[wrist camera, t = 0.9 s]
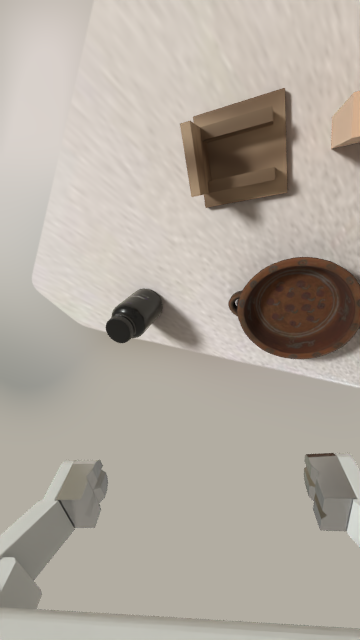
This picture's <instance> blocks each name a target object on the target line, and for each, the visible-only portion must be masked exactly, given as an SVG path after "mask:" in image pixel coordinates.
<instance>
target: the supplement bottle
mask: <svg viewBox="0 0 360 640" xmlns="http://www.w3.org/2000/svg"><path fill="white" fill-rule="evenodd" d="M161 311H162V302H161V300H160V298H159V296H158V295H157V294H156V293H155V292H153V291H152V290H149V289H140V290H137V291H136V292H135V293H133V294H132V295H131V296H129V297H128V298H127V299H125V300H124V301H123V302H122V303H120V304H119V305H118V306H117V307H115V309H114V310H113V312H112V318H111V319H110V320H109V321H108V322H107V325H106V331H107V333H108V335H109V337H111V339H113V340H114V341H116V342H119V343H125V342H127V341H128V340H130V339H131V338H136V337H139V336H141V335H142V334H143V333H144V332H145V331H146V330H147V329H148V328H149V326H150V325H151V324H152V323H153V322H154V321H155V320H156V319H157V318H158V316H159V315H160V314H161Z"/></svg>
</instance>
